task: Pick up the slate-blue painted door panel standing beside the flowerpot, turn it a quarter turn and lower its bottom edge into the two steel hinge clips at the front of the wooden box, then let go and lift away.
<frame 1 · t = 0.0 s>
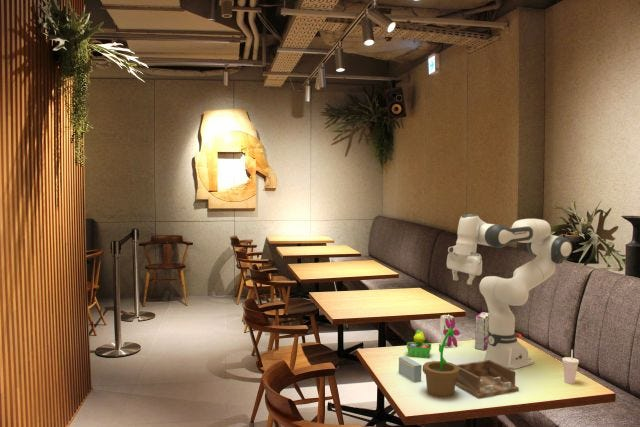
hand: (462, 282, 242), 39 cm above the table, tool pointing down, fingers open, 8 cm apart
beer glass: (446, 346, 279), on the table
fruit basket: (418, 355, 264), on the table
candy bar box: (482, 347, 278), on the table
smoothie: (569, 382, 231), on the table
wooden box: (482, 386, 225), on the table
door: (409, 377, 235), on the table
flowerpot: (440, 393, 218), on the table
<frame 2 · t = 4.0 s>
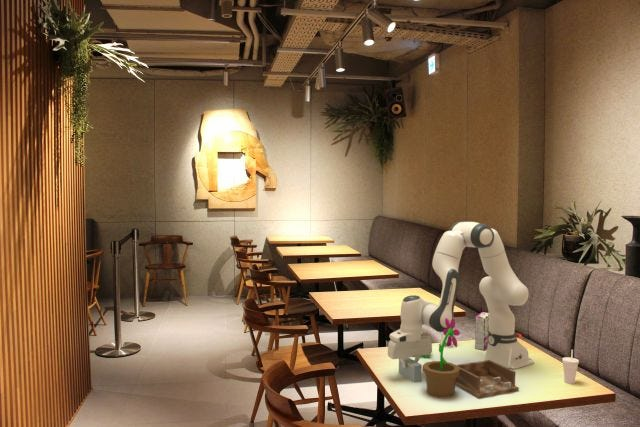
hand: (409, 366, 234), 4 cm above the table, tool pointing down, fingers closed on door, 4 cm apart
door: (409, 376, 235), on the table, touching gripper
everything else where it was.
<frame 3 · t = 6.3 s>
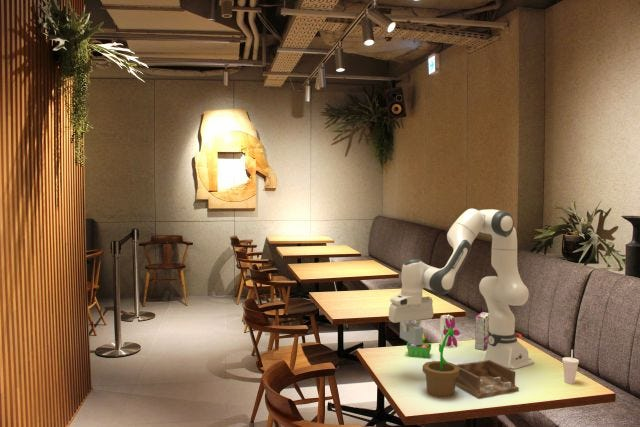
hand: (411, 330, 233), 20 cm above the table, tool pointing down, fingers closed on door, 4 cm apart
door: (410, 340, 234), point 15 cm above the table, touching gripper
everything else where it was.
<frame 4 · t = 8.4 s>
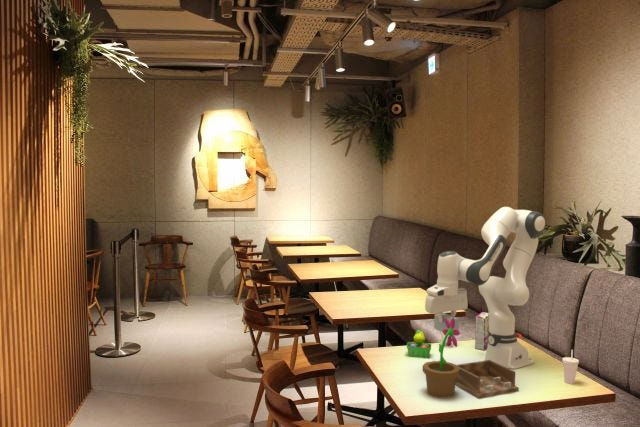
hand: (446, 321, 237), 23 cm above the table, tool pointing down, fingers closed on door, 4 cm apart
door: (446, 331, 238), point 19 cm above the table, touching gripper
everything else where it was.
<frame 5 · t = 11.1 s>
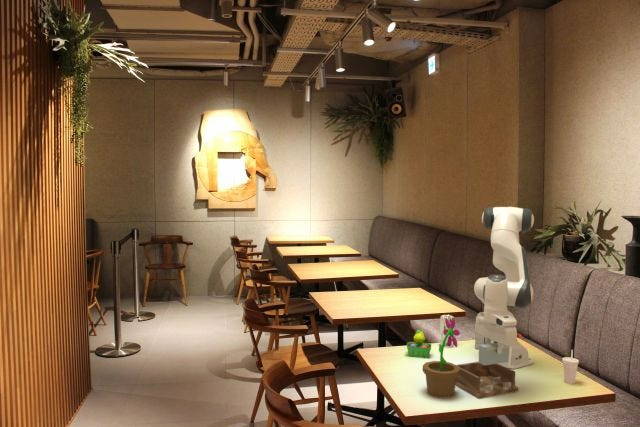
hand: (494, 351, 218), 16 cm above the table, tool pointing down, fingers closed on door, 4 cm apart
door: (493, 362, 219), point 12 cm above the table, touching gripper
everything else where it was.
when the fingers open (7 cm above the table, at t = 13.1 s): door stays where it is, resting on wooden box.
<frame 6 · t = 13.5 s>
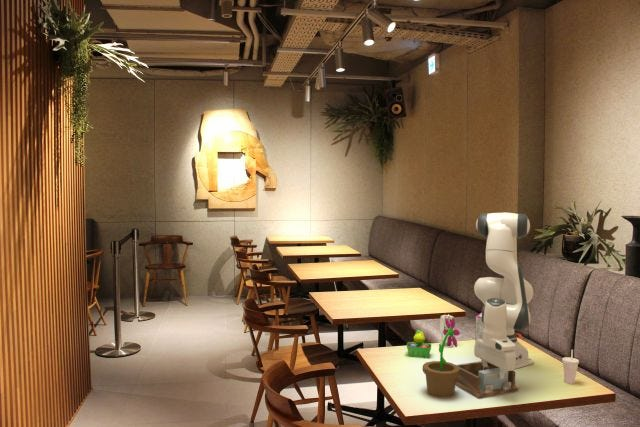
hand: (493, 374, 219), 7 cm above the table, tool pointing down, fingers open, 7 cm apart
door: (492, 387, 220), point 1 cm above the table, touching wooden box
everything else where it was.
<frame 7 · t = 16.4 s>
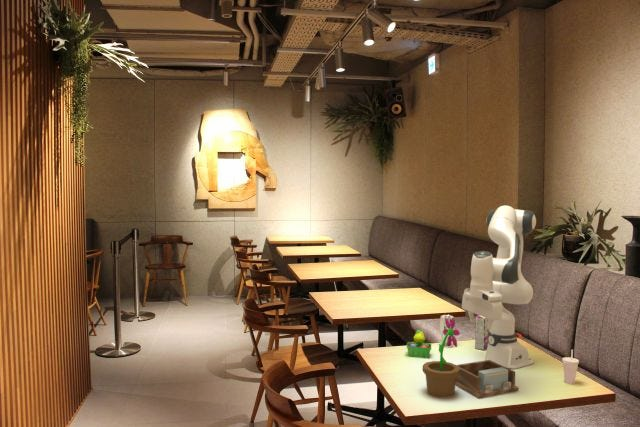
hand: (480, 325, 225), 25 cm above the table, tool pointing down, fingers open, 8 cm apart
nothing on the table moved.
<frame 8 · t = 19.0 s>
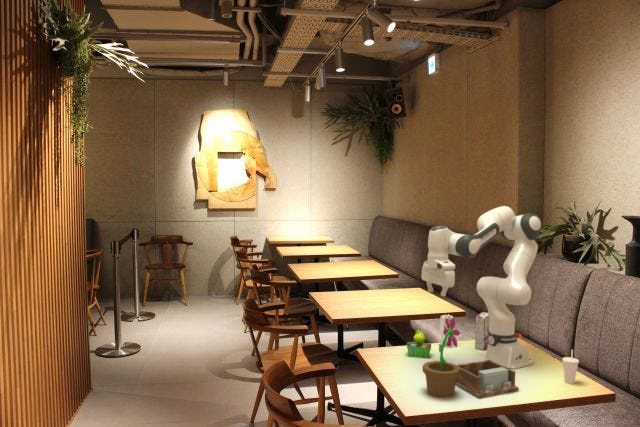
hand: (436, 293, 245), 33 cm above the table, tool pointing down, fingers open, 8 cm apart
nothing on the table moved.
at the end: door 0.1 cm from the target spot on the wooden box, point 1.5 cm above the wooden box's base; door tilted 0°; the gripper is holding nothing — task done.
